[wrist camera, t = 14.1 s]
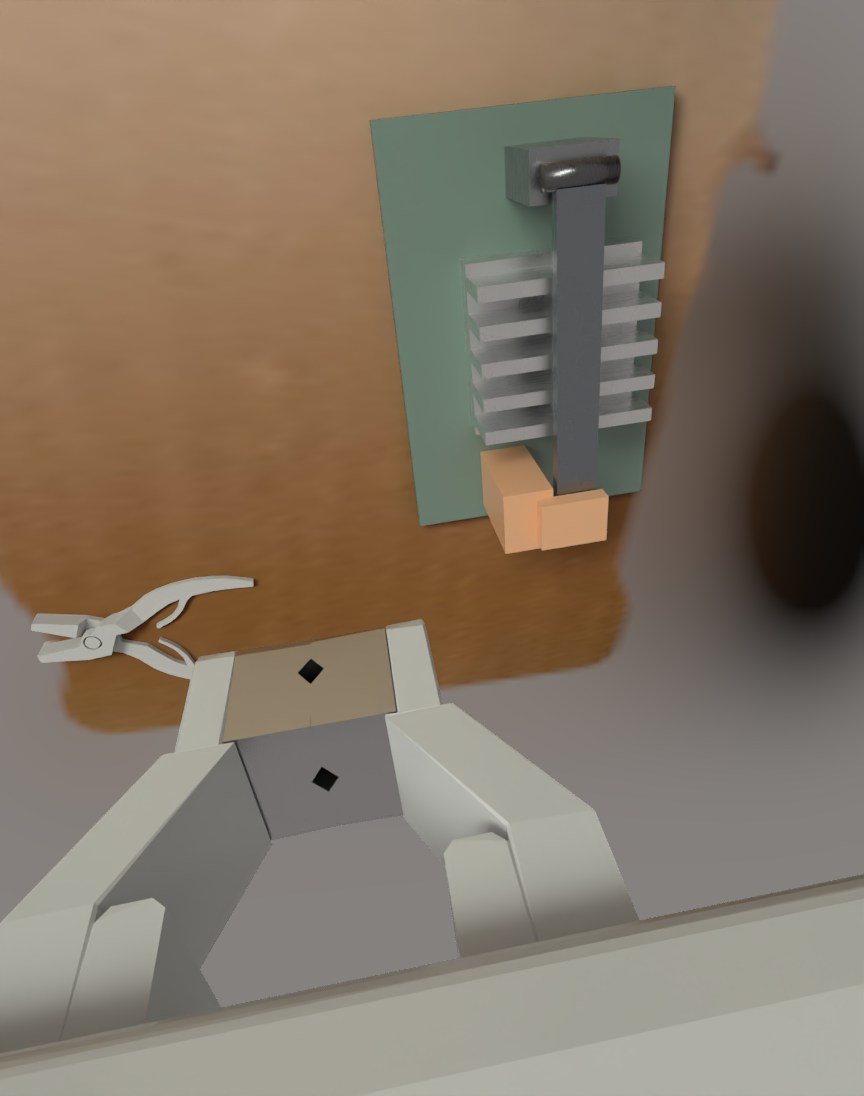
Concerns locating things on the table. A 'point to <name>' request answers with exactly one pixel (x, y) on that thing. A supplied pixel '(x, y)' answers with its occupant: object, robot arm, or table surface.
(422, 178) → the board
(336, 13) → the table surface
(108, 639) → the pliers
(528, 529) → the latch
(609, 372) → the heatsink
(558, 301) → the strap
